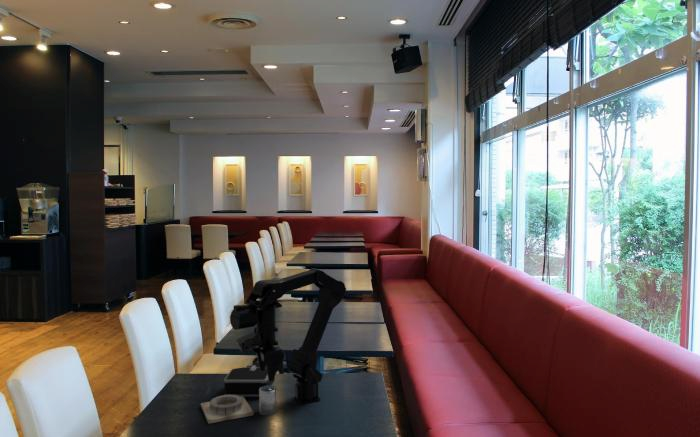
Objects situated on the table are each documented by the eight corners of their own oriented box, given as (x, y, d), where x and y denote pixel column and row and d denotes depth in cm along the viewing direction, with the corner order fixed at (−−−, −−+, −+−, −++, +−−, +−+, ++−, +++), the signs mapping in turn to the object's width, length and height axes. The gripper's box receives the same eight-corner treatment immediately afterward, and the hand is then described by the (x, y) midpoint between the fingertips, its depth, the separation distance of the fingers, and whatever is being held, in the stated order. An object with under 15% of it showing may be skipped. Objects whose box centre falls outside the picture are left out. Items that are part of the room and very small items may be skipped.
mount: (242, 399, 168) (242, 389, 168) (253, 415, 157) (253, 405, 156) (200, 406, 163) (200, 396, 163) (208, 423, 151) (208, 413, 151)
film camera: (236, 378, 187) (278, 378, 186) (221, 401, 171) (267, 402, 170) (235, 356, 186) (277, 356, 185) (219, 377, 170) (265, 377, 168)
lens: (273, 407, 162) (273, 384, 162) (278, 413, 158) (278, 389, 157) (257, 410, 160) (257, 386, 160) (262, 416, 156) (261, 392, 155)
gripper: (232, 319, 163) (232, 369, 164) (246, 335, 146) (247, 391, 147) (267, 315, 167) (268, 364, 168) (285, 330, 150) (286, 384, 151)
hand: (266, 375), depth 158 cm, fingers open, 9 cm apart
